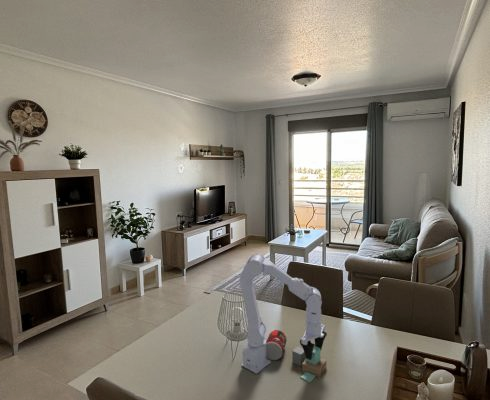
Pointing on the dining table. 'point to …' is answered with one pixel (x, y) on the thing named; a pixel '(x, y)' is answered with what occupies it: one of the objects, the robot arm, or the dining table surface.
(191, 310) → the dining table surface
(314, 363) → the teal block
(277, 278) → the robot arm
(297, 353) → the grey block
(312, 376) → the swatch
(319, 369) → the walnut base
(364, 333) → the dining table surface
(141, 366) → the dining table surface
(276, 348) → the canned food
